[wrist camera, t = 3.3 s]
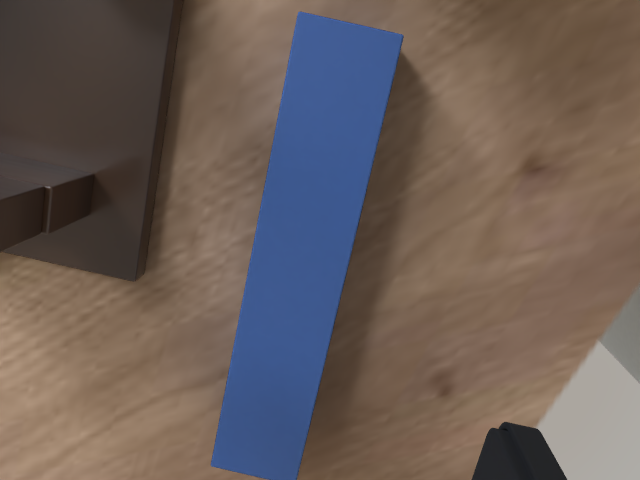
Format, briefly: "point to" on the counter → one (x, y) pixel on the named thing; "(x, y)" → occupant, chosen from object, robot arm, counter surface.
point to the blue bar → (303, 240)
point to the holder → (83, 128)
